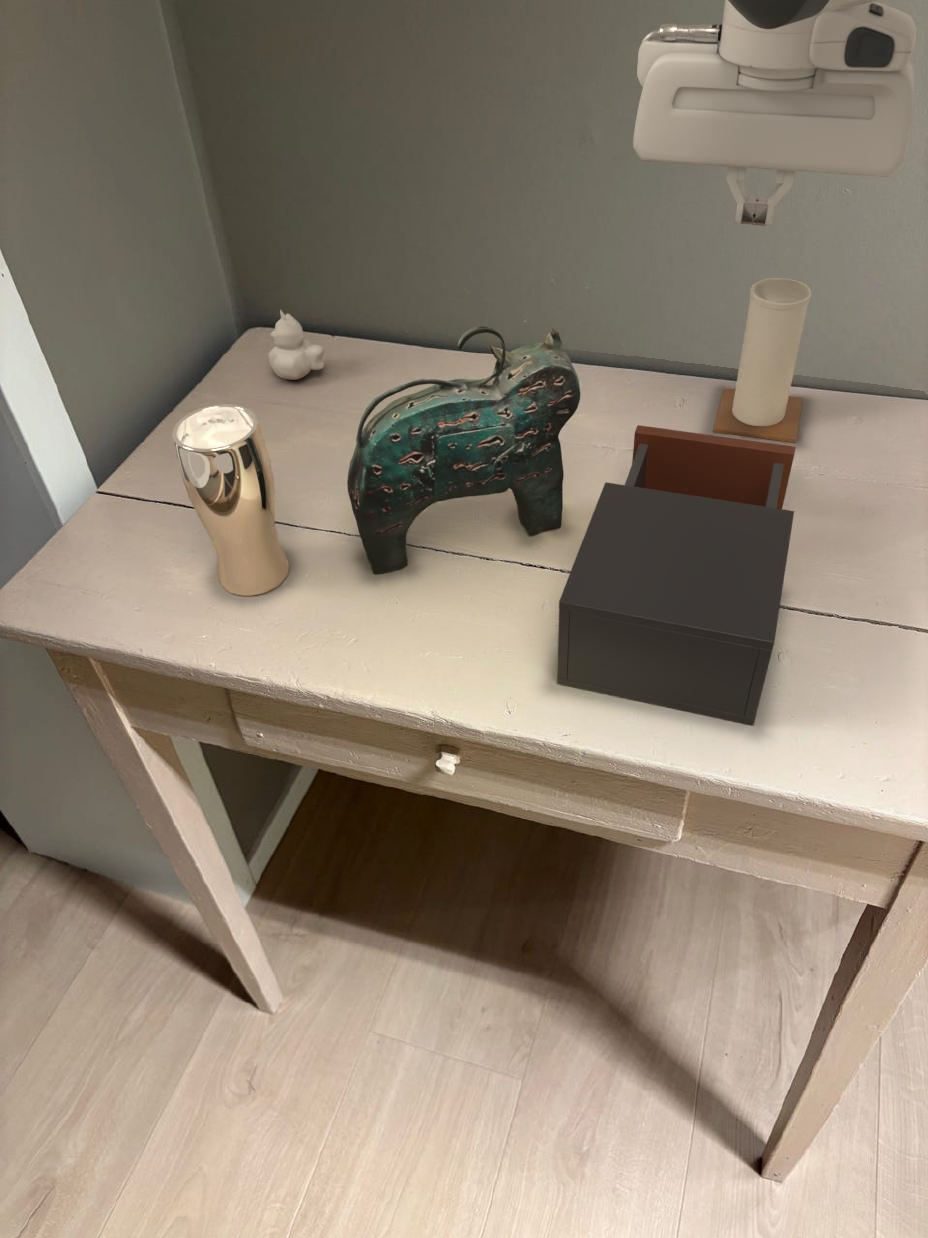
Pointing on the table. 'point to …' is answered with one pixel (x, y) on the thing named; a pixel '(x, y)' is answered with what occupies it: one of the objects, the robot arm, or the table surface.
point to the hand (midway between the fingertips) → (753, 222)
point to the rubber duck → (293, 350)
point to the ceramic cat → (465, 446)
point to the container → (770, 350)
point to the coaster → (779, 431)
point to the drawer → (711, 466)
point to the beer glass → (233, 494)
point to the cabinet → (675, 601)
